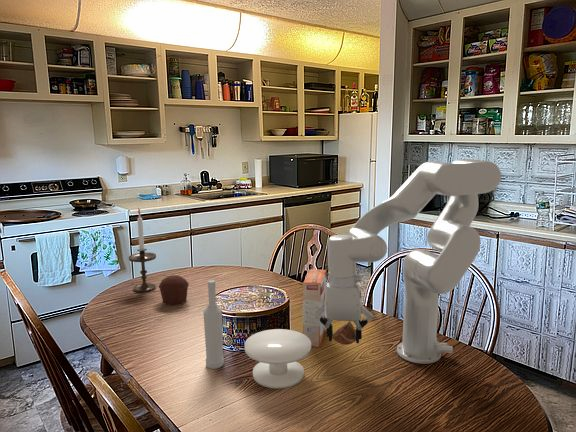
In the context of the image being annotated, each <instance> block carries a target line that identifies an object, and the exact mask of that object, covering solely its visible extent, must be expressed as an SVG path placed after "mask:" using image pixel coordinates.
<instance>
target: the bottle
mask: <svg viewBox="0 0 576 432" xmlns="http://www.w3.org/2000/svg"><path fill="white" fill-rule="evenodd" d="M207 294H208V304H207V306H206V307H205V308H204V309H203V311H202V312H203V314H202V315H203V325H204V326H203V327H204V328H203V329H204V341H205V357H206V358H205V365H206V368H208V369H211V370H215V369H220V368H221V367H223V366H224V363H225V362H224V361H225V358H224V355H223V354H224V352H223V351H224V350H223V349H224V347H223V309H222V307H220V306H218V304H217V296H216V280H214V279H210V280H207Z"/></svg>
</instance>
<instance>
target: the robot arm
mask: <svg viewBox="0 0 576 432" xmlns="http://www.w3.org/2000/svg"><path fill="white" fill-rule="evenodd" d="M501 178H502V172H501V169H500V168H499V166H498V165H497V164H496V163H494V162H492V161H489V160H481V159H473V158H471V159H470V158H458V159H455V160H452V162H450V163H449V162H442V161H433V160H432V161H426V162H423V163H422V164H421V165H419V166H418V167H417V168H416V169H415V170H414V171H413V172H412V174H410V176H409V177H408V178H407V179H406V180H405V181H404V183H402V184H401V185H400V187H399V188H398V189H397V190H396V191H395V192H394V193H393V194H392V195H391V196H390V197H389V198H387V199H386V200H384V201H382V202H380V203H379V204H378V205H375V206H374V207H373V208H371V209H369V210H368V211H366V212H365V214H363V215H362V216H361V217H360V218H359V219H358V220H357V221H356V222H355V223H354V225H353V226H352V227H351V228H350V229H349V231H348V233H347V234H336V235H331V236H330V237H329V238H328V239H327V266H328V282H326V293H325V305H323V306H322V307H321V308H319V309H318V310H317V311H316V312H315V316H316V317H317V318H318V319H319V320H320V322H321V323H322V324H323V325H324V326H325V330H326V338H328V342H329V343H331V342H332V341H333V338H332V335H333V334H334V333H333V332H334V331H333V324H332V323H333V321H337V322H339V321H341V322H349V321H350V322H353V323H354V325H355V326H356V328H355V330H356V341H355V343H356V344H359V343H360V340H362V337H363V334H362V331H363V328H364V327H366V326H367V325H368V323H369V322H370V321H371V320H372V319H373V318H374V315H373V313H372V312H371V311H369V309H367V308H366V307H365V306H363V299H362V290H361V286H360V283H359V282H362V281H363V280H362V279H363V277H362V276H359V275H358V274H357V263H376V262H379V261H381V260H382V259H384V258H385V257H386V254H387V253H388V246H387V242H386V241H385V240H384V239H383V237H381V236H379V235H378V234H379V233H380V232H381V231H383V230H384V229H386V228H387V227H390V226H391V225H394V224H398V223H402V222H406V221H407V222H408V221H410V220H412V219H415V218H416V217H417V216H418V215H419V213H420V212H421V211H423V209H424V208H425V207H426V206H427V204H429V202H430V201H431V200H432V199H433V198H434V197H435V196H436V195H441V196H446V197H448V200H447V203H446V204H445V205H444V208H443V209H442V211H441V212H440V213H439V215H438V217H437V218H436V220H434V223H433V224H432V225H431V227H430V228H429V231H428V232H427V235H426V241H427V243H428V245H429V246H430V247H432V249H434V250H436V251H438V252H440V253H439V255H438V254H436V253H434V252H431V251H429V250H426V249H422V248H420V249H419V248H418V249H417V248H416V249H413V250H411V251H409V252H408V253H407V255H405V258H404V259H403V263H402V274H403V282H404V283H403V284H404V302H403V303H404V304H403V322H402V323H403V325H402V342H400V343H399V344H398V345H397V346H396V353H397V355H398V356H399V357H400V358H402V359H403V360H405V361H407V362H411V363H415V364H422V365H425V364H427V365H429V364H432V363H433V364H434V363H436V362H438V361H440V360H441V358H442V353H446V354H453V352H454V349H453V348H454V347H453V346H451V345H448V343H447V342H440V341H439V340H438V338H437V333H438V332H437V330H438V329H437V328H438V316H439V314H438V313H439V301H440V299H439V298H440V296H439V295H445V294H448V293H450V292H451V291H452V290H454V289H455V287H457V286H458V285H459V283H460V281H461V280H462V279H463V277H464V275H465V274H466V273H467V271H468V270H469V268H470V266H471V265H472V264H473V263H474V261H475V259H476V258H477V256H478V254H479V252H480V249H481V244H482V243H481V235H480V234H479V232H478V231H477V230H476V229H475V228H474V227H472V226H471V224H472V222H473V221H474V219H475V217H476V216H477V213H478V211H479V196H478V195H481V194H488V193H490V192H492V191H494V190H496V188H497V187H498V186H499V184H500V182H501ZM324 311H325V317H324V316H323V315H322V313H323V312H324ZM362 315H364V316H365V317H364V318H363V319H362ZM361 319H362V320H361Z"/></svg>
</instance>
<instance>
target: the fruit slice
mask: <svg viewBox="0 0 576 432" xmlns="http://www.w3.org/2000/svg"><path fill="white" fill-rule="evenodd" d="M332 340H334V341H335V342H336V343H338V344H340V345H345V346H348V345H352V344H353V343H356V328H355V327H354V325H353V323H352V321H347V322H345V324H343V325H341V326H340V327H339V328H338V329H336V331H334V333H333V335H332Z"/></svg>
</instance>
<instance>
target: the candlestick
mask: <svg viewBox="0 0 576 432" xmlns="http://www.w3.org/2000/svg"><path fill="white" fill-rule="evenodd" d="M137 213H138V218H137V220H136V221H137V229H138V230H137V231H138V245H139V246H138V247H139V249H136V251H137V252H138V253H134V254H131V255H129V256H128V260H129V262H132V263H141V270H140V271H139V273H140V274H141V276H140V279H142V283H140V284H136V285H134V286H133V289H132V290H133V292H135V293H138V294H139V293H141V294H142V293H148V292H152V291H154V290H156V288H157V284H155V283H151V282H148V283H147V280H146V279H147V278H148V277H147V273H148V271H147V270H146V262H150V261H153V260H156V259H157V255H156V253H154V252H146V251H147V250H148V249H147V248H145V241H144V240H145V237H144V227H143V226H144V225H143V218H142V217H141V216H142V215H141V209H140V207H138V210H137Z"/></svg>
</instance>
